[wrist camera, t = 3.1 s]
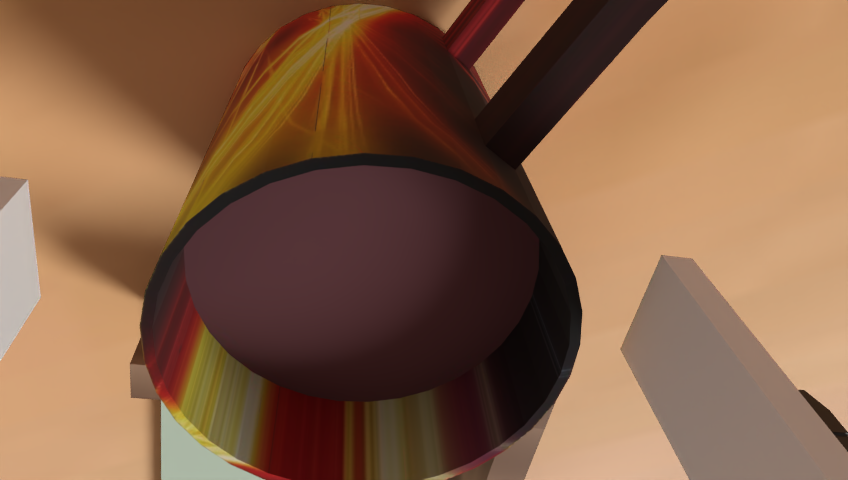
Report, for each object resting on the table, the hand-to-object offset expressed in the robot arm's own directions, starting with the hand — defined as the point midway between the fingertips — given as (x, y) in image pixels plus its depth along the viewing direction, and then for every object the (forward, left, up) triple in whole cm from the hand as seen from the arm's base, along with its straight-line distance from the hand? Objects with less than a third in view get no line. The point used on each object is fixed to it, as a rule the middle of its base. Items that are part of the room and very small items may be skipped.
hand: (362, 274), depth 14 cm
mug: (0, 0, -12) cm, 12 cm away
